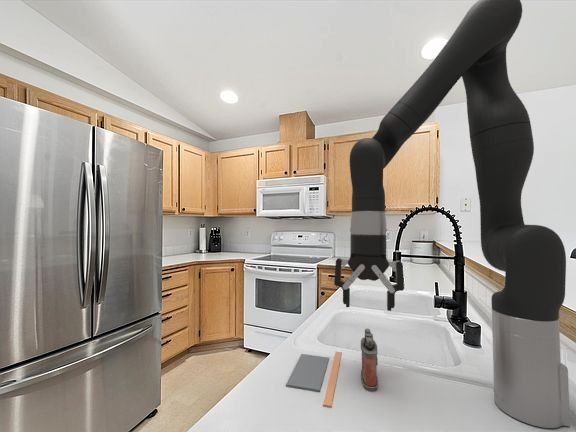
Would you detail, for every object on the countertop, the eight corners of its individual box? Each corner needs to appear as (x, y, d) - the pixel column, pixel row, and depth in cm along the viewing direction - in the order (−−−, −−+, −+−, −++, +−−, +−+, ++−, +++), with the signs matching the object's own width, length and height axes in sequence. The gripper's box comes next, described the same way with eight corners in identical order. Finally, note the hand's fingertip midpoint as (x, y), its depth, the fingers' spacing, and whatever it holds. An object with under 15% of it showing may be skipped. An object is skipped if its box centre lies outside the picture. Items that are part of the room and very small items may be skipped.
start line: (341, 353, 70) (341, 352, 70) (331, 407, 49) (331, 405, 49) (335, 352, 71) (335, 351, 71) (323, 406, 50) (323, 404, 50)
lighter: (380, 392, 54) (379, 341, 54) (362, 390, 54) (361, 340, 55) (375, 371, 61) (374, 326, 62) (359, 370, 62) (359, 325, 63)
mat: (328, 359, 67) (328, 357, 67) (319, 392, 54) (319, 390, 54) (301, 355, 69) (301, 353, 69) (286, 386, 56) (286, 384, 56)
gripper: (401, 233, 61) (401, 306, 60) (336, 231, 65) (336, 300, 64) (405, 233, 54) (406, 317, 53) (333, 232, 57) (332, 309, 57)
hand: (367, 308), depth 58 cm, fingers open, 8 cm apart
